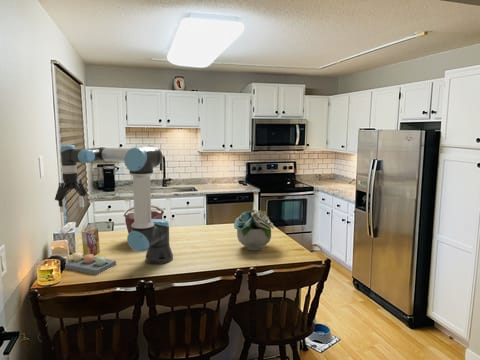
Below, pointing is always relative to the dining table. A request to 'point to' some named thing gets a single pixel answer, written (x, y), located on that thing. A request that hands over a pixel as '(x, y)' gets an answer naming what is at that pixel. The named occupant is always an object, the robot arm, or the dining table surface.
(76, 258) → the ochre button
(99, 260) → the sage button
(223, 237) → the dining table surface
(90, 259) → the terracotta button
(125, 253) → the dining table surface
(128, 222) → the bucket
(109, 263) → the slate board
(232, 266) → the dining table surface
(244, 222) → the flower arrangement
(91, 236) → the candy box
